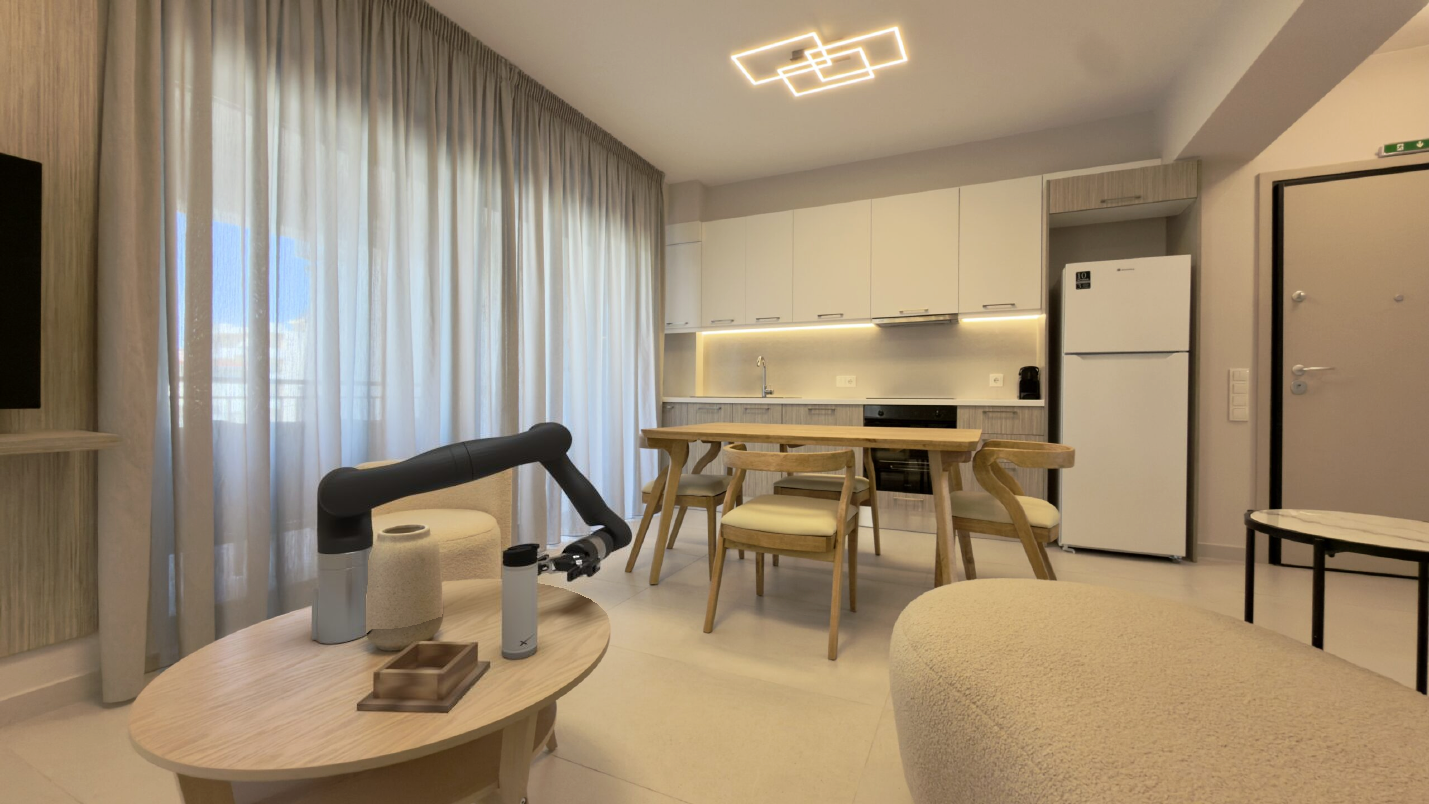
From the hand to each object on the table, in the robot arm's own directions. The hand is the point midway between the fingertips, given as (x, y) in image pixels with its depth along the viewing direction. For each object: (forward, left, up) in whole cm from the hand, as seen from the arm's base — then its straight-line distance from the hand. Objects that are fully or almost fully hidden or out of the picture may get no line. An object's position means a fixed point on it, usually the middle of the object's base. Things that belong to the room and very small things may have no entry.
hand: (549, 575), depth 111 cm
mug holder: (-12, -23, -11) cm, 28 cm away
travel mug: (-2, -10, -11) cm, 15 cm away
